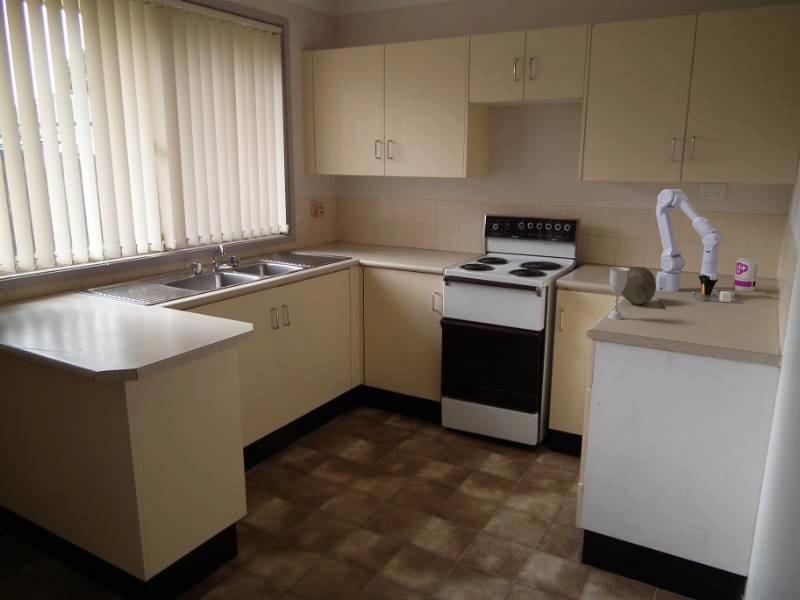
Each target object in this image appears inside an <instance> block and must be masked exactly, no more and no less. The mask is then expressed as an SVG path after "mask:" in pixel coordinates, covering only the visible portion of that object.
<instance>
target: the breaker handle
mask: <svg viewBox="0 0 800 600" xmlns="http://www.w3.org/2000/svg"><path fill="white" fill-rule="evenodd" d="M719 300H720V301H722V302H730V301H731V293H730V292H726V291H720V297H719Z"/></svg>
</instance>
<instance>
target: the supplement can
mask: <svg viewBox="0 0 800 600" xmlns="http://www.w3.org/2000/svg"><path fill="white" fill-rule="evenodd" d="M758 268H759V261H758V258H756V257H750V256H739V257H738V259H736V266H735V273H734V281H733V287H732V289H733V290H734V291H738V292H743V293H746V292H747V293H753V292H755V289H756V284H757V274H758Z"/></svg>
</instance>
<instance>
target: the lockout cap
mask: <svg viewBox="0 0 800 600" xmlns="http://www.w3.org/2000/svg"><path fill="white" fill-rule="evenodd" d="M700 293H701V296H703V297H711V295H705V294H704V284H702V290H701V292H700Z"/></svg>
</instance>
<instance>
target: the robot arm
mask: <svg viewBox="0 0 800 600" xmlns="http://www.w3.org/2000/svg"><path fill="white" fill-rule="evenodd" d="M656 198H657V204H656V207H655V216H656V220H657V224H658V225H657V226H658V231H659V235H660V241H661V245H662V246H661V247H662V249H663V251H662V253H661V255H660V258H661V261H660V268H661V270H662V271H657V273H656V277H655V281H656V291H658V292H672V293H675V292H676V293H677V292H679V291H680V285H681V274H682V269H684V267H685V265H686V261H685V259H684V257H683V255H682V251H680V249H678V247H677V242H676V236H675V232H674V227H673V222H672V217H671V216H672V215H671V211H672V210H673V209H674V208H675V207H676V208H680V209H681V211H682V212H683V213H684V214H685V215H686V216H687V217H688V218H689V219H690V221H691V222H692V223H691V224H692V228H693V229H694V230H695V231H696V233H697V235H699V236H700V238H701V242H702V244H703V252H702V261H701V269H700V275H698V279H699V282H700V287H701V291H702V284H704V294H705V295H711V294H712V290H713V289H714V288H715V285H716V284H717V283H718V280H719V279H717V275H720V272H719V271H718V266H719V265H718V264H719V263H718V262H719V257H720V256H719V255H720V248H721V244H722V243H723V241H724V236H723V234H722V232H719V231H717V229H716V228H714V227H713V226H712V225H711V223H710V220H709V218H706V217H703V216H700V214H699V213H698V211H697V210H696V209H695V207H694V206H693V205H692V202H690V200H689V199H688V196H687V194H686V193H684V192H683V190H682V189H679V188H674V189H671V188H669V189H668V188H666V189H663V190H662V191H661V192H659V194H658V196H657V197H656Z"/></svg>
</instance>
